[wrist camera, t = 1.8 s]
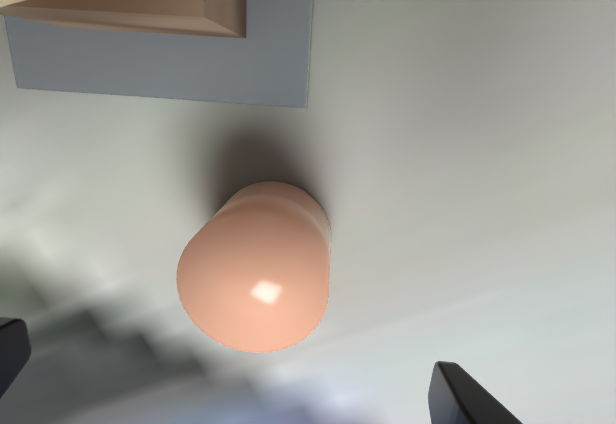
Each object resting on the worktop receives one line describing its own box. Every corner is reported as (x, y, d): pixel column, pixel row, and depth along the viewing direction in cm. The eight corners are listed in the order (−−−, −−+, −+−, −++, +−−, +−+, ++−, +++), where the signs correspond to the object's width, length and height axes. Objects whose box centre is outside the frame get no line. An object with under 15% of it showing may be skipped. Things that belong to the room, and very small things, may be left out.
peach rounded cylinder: (336, 185, 14) (335, 223, 10) (326, 292, 15) (322, 359, 12) (216, 176, 14) (172, 209, 10) (218, 282, 16) (179, 345, 12)
